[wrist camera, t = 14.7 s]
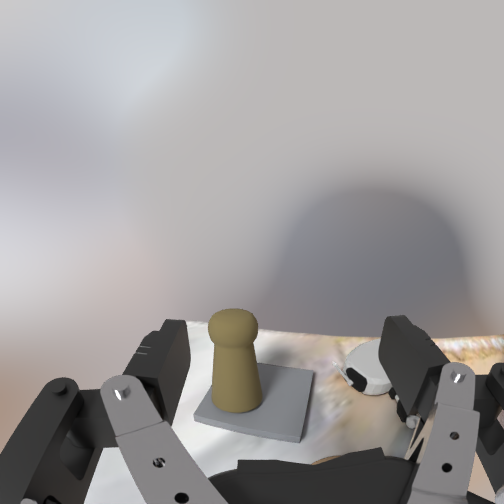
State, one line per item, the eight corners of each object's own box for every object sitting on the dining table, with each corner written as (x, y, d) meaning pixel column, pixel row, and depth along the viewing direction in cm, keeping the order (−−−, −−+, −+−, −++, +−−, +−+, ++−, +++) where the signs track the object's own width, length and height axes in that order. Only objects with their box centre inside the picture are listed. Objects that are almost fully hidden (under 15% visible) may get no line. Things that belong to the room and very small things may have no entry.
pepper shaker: (240, 377, 36) (236, 299, 34) (273, 397, 31) (274, 312, 29) (201, 394, 32) (191, 311, 30) (233, 420, 27) (226, 330, 25)
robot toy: (450, 397, 30) (378, 349, 42) (463, 373, 28) (386, 326, 40) (403, 447, 24) (323, 380, 36) (419, 424, 22) (329, 355, 34)
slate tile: (312, 376, 37) (313, 370, 36) (299, 443, 26) (300, 436, 25) (229, 364, 40) (228, 357, 40) (194, 420, 29) (193, 414, 28)
